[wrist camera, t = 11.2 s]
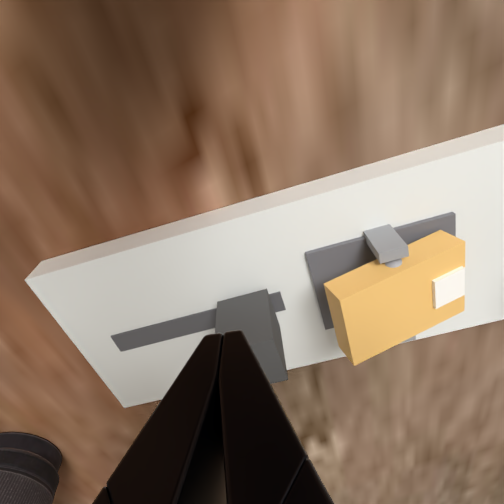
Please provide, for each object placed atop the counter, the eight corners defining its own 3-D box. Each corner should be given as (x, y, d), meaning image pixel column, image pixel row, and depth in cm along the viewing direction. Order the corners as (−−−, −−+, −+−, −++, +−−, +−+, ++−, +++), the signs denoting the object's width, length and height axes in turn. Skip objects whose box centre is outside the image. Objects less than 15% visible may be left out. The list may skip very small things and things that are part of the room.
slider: (217, 301, 20) (213, 356, 17) (266, 288, 20) (273, 342, 17) (233, 337, 22) (232, 395, 18) (280, 326, 22) (288, 382, 18)
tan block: (322, 282, 18) (341, 301, 16) (440, 227, 19) (468, 241, 17) (339, 347, 20) (356, 369, 19) (442, 296, 21) (467, 314, 19)
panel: (41, 261, 22) (-1, 307, 18) (668, 75, 17) (787, 84, 14) (131, 385, 28) (114, 439, 24) (614, 268, 23) (687, 311, 20)
